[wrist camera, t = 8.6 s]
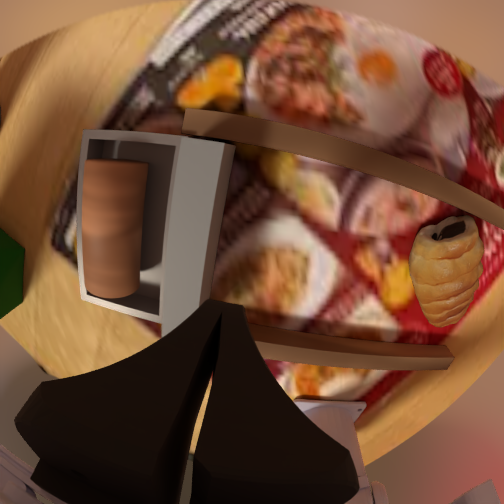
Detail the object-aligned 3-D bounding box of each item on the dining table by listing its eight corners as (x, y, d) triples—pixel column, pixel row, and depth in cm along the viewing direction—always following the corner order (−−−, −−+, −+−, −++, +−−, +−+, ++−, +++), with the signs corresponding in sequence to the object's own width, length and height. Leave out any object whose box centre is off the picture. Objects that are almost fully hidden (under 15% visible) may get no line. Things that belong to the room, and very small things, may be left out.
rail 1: (497, 226, 17) (511, 233, 15) (190, 135, 16) (181, 133, 14) (501, 211, 16) (516, 216, 14) (194, 112, 16) (186, 108, 14)
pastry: (467, 301, 20) (488, 322, 16) (410, 329, 21) (427, 356, 17) (464, 206, 17) (494, 218, 13) (398, 232, 18) (423, 250, 14)
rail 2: (438, 357, 22) (447, 369, 20) (168, 321, 21) (160, 336, 19) (445, 345, 21) (454, 357, 19) (169, 306, 20) (161, 320, 18)
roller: (151, 282, 18) (111, 305, 15) (113, 264, 19) (73, 281, 16) (162, 164, 15) (113, 166, 12) (118, 157, 17) (72, 160, 13)
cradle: (176, 306, 20) (167, 324, 18) (96, 285, 20) (81, 299, 18) (198, 138, 16) (188, 136, 14) (103, 130, 16) (83, 129, 14)
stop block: (207, 312, 20) (193, 355, 16) (181, 306, 20) (161, 347, 16) (235, 145, 16) (224, 143, 12) (204, 140, 16) (181, 137, 11)
